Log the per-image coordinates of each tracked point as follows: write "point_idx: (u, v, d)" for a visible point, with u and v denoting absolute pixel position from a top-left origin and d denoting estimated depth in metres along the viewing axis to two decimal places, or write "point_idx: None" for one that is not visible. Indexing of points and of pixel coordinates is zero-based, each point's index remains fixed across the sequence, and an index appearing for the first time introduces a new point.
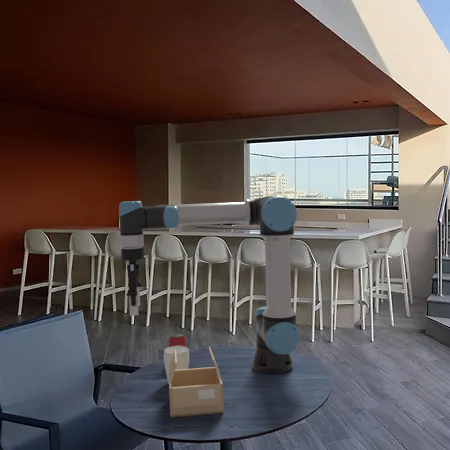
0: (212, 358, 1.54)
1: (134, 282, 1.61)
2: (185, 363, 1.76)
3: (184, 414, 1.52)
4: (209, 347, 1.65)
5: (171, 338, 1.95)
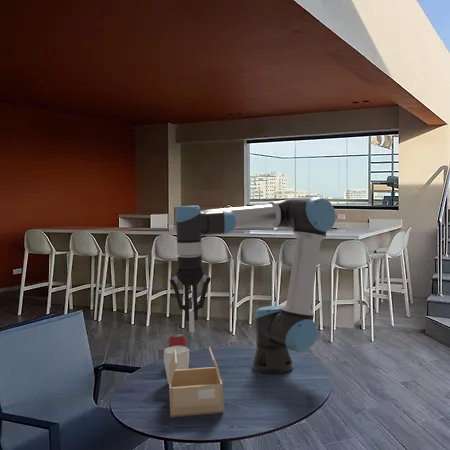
0: (212, 358, 1.54)
1: (176, 297, 1.56)
2: (185, 362, 1.76)
3: (184, 414, 1.52)
4: (209, 347, 1.65)
5: (171, 338, 1.95)
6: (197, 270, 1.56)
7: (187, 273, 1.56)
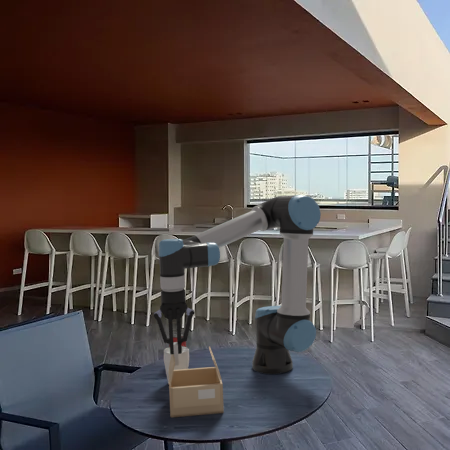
0: (212, 358, 1.54)
1: None
2: (185, 363, 1.76)
3: (184, 414, 1.52)
4: (209, 347, 1.65)
5: None
6: (181, 304, 1.56)
7: (171, 307, 1.56)
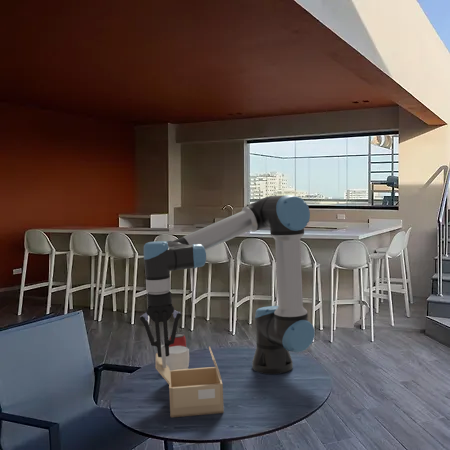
0: (212, 358, 1.54)
1: None
2: (185, 362, 1.76)
3: (184, 414, 1.52)
4: (209, 347, 1.65)
5: None
6: (167, 306, 1.56)
7: (157, 309, 1.55)
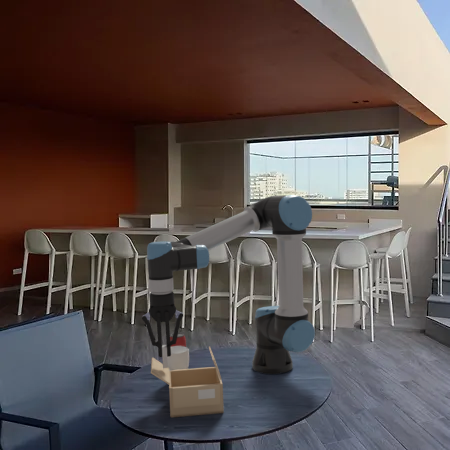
0: (212, 358, 1.54)
1: (149, 334, 1.56)
2: (185, 362, 1.76)
3: (184, 414, 1.52)
4: (209, 347, 1.65)
5: (171, 338, 1.95)
6: (169, 306, 1.56)
7: (159, 310, 1.56)
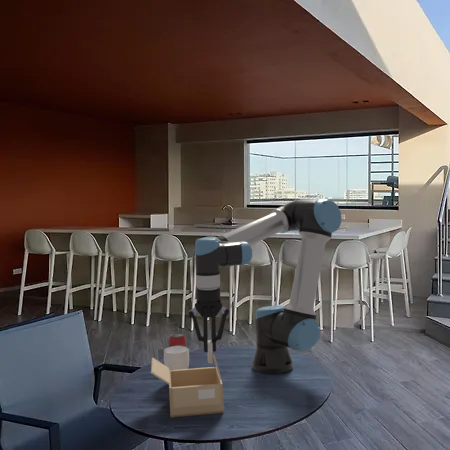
0: (213, 357, 1.55)
1: (195, 329, 1.58)
2: (185, 363, 1.76)
3: (184, 414, 1.52)
4: None
5: (171, 338, 1.95)
6: (216, 302, 1.58)
7: (206, 305, 1.57)
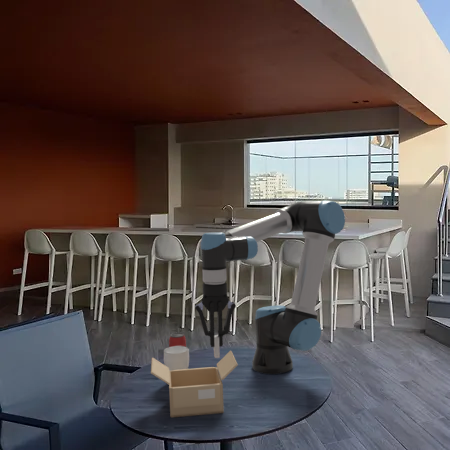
0: (236, 362, 1.56)
1: (202, 324, 1.58)
2: (185, 362, 1.76)
3: (184, 414, 1.52)
4: (231, 351, 1.66)
5: (171, 338, 1.95)
6: (222, 297, 1.58)
7: (212, 300, 1.57)
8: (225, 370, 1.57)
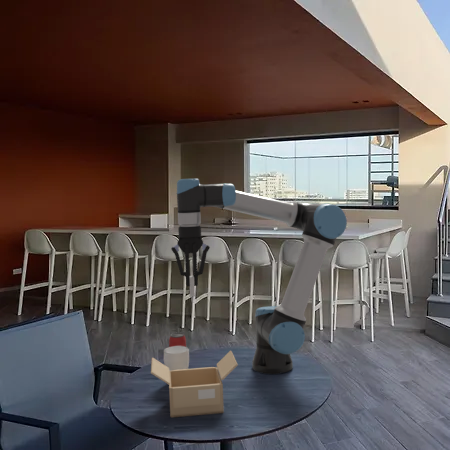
0: (236, 362, 1.56)
1: None
2: (185, 362, 1.76)
3: (184, 414, 1.52)
4: (231, 351, 1.66)
5: (171, 338, 1.95)
6: (197, 239, 1.68)
7: (187, 241, 1.67)
8: (225, 370, 1.57)
